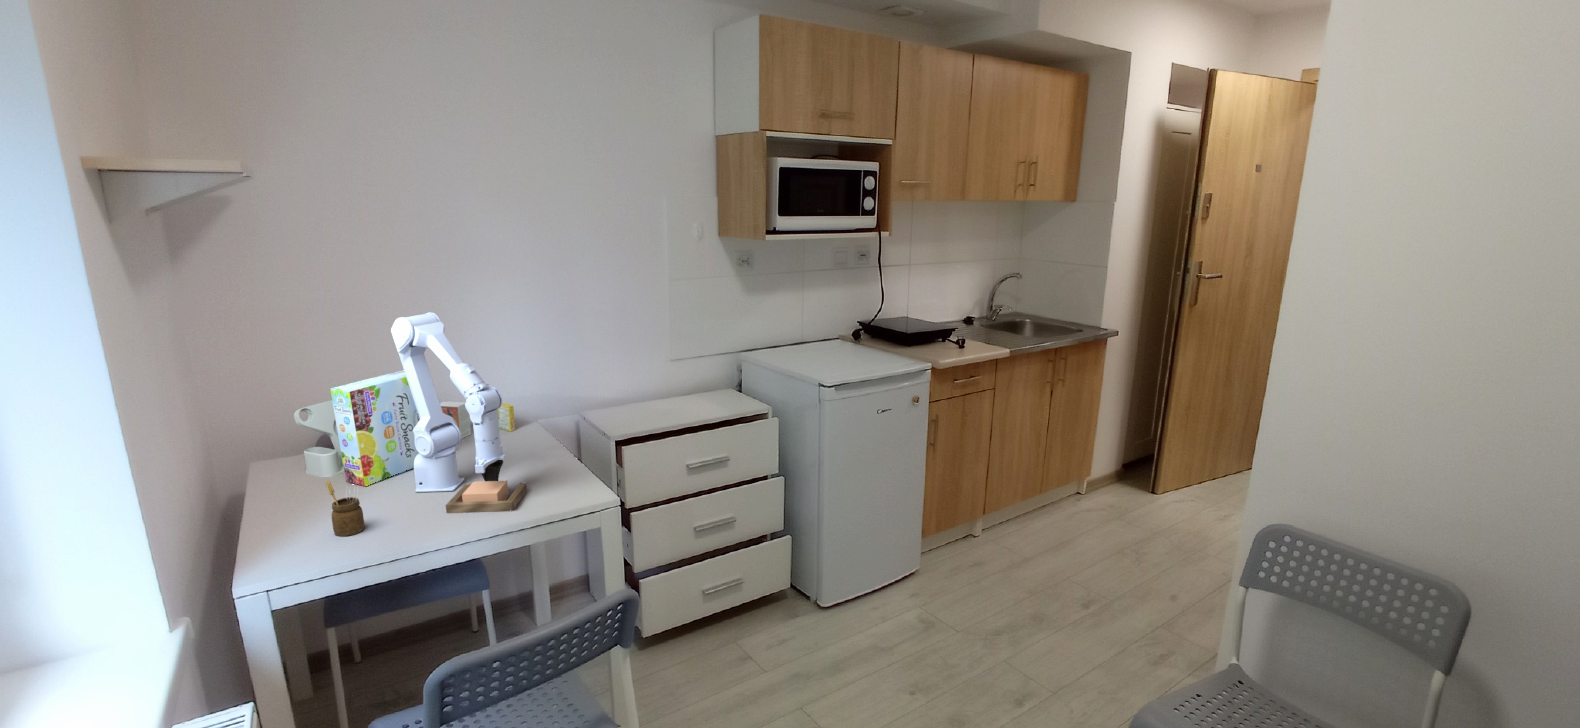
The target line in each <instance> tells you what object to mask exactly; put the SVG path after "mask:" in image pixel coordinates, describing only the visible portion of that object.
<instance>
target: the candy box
mask: <svg viewBox="0 0 1580 728" xmlns="http://www.w3.org/2000/svg"><path fill="white" fill-rule="evenodd" d="M497 412H498V422H499V430H503V431H507V432H510V433H511V432H513V431H515V413H514V412H515V411H514V405H511V404H507V403H503V402H502V404H501V406H500V408H498V409H497Z"/></svg>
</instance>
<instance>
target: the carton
mask: <svg viewBox="0 0 1580 728" xmlns="http://www.w3.org/2000/svg"><path fill="white" fill-rule="evenodd" d="M470 484H471V485H470ZM470 484H469V485H470V486H469V487H468V488H467V490H466V491H465V492H464V493H463V494H462V499H463V502H481V501H507V499H508V497H509V487H508V480H498V481H485V480H483V481H482V480H481V481H479V480H478V481H473V482H472V483H470Z"/></svg>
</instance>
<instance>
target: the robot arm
mask: <svg viewBox="0 0 1580 728" xmlns="http://www.w3.org/2000/svg"><path fill="white" fill-rule="evenodd" d="M445 330H446V329H445V324H444V323H443V322H442V321H441V319H440V317H439V316H438V315H437V314H436V313H434V312H427V313H422V314H416V315H410V316H406V317H405V316H404V317H398V318H396V319H395V320H394V321H393V323H392V327H391V329H390V332H391V335H392V339H393V341H394V344H395V348H396V351H397V353H398V355H399V359H400V363H401V366H402V368H403V369H402V370H404V372H405V375H406V378H407V381H408V384H409V387H410V390H411V393H412V396H413V399H414V402H415V405H416V408H417V411H418V414H419V418H420V420H419V422H418V423H417V425H416V426H415V427H414V429H413V432H414V436H415V447H416V450H417V451H418V452H419V453H420V454H417V456H416V457H415V460H414V468H413V471H414V472H413V473H414V481H415V490H414V491H415V493H427V492H429V493H430V492H435V493H436V492H454V491H455V490H456V489H457V488H458V487H459V486H460V485H461V484H462V483H463V482H464V481H465V477H459V472H458V464H457V463H458V461H457V453H456V451H457V450H458V445H460V443H461V441H462V439H461V432H460V430H459V428H458V427H457V426H456V424H455V422H454V419H453V418H452V417H451V416H449V415H446V414H444V413H443V411H442V408H441V405H440V403H441V402H440V400H439V397H438V394H437V390H436V387H435V384H434V380H433V379H432V375H431V372H430V369H429V365H428V361H427V359H426V357H425V352H426V350H427V348H428V349H430V350H431V351H432V352H433V353H434V355H435V356H436V357H437V358H438V359H439V360H440V361H441V362H442V363H443V365H444V366H446V368H447V369H448V370H449V372H450V374H449V379H450V381H451V382H452V383H453V384H454V386H455V388H456V389H457V390H458V391H459V392H460V394H461V395H462V396H463V398H464V399H465V402H466V403H465V407H466V409H467V411H468V413H469V418H470V421H471V422H472V425H473V426H472V427H473V437H474V447H475V465H474V468H475V470H474V471H475V474H480V475H481V476H482V478H483V481H499V478H500V472H501V469H502V466H503V465H504V460H503V459H505V458H506V457H507V455H508V454H507V453H506V452H503V450H504V449H503V444H501V434H500V429H499V422H498V412H497V409H498V408H500V406H501V404H502V403H503V399H502V395H501V393H500V392H499V390H498V388H497V387H494V386H491V385H490V384H489V383H486V382H485V381H484V380H483V378H482V377H481V376H480V374H478V372H477V370H476V368H475V367H474V366H472V364H470V363H464V362H463V361H462V358H461V357H460V356H459V354H458V353H457V351H456V350H455V349H454V347H453V345H452V343H451V342H450V341H449V339H448V337H447V336H446V334H445ZM438 425H439V427H437V428H436V426H438ZM430 429H431V430H430Z"/></svg>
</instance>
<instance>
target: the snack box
mask: <svg viewBox="0 0 1580 728" xmlns="http://www.w3.org/2000/svg"><path fill="white" fill-rule="evenodd" d="M329 390H330V395H331V400H332V402H333V408H334V414H335V420H336V425H337V431H338V437H339V443H340V449H341V455H342V461H343V466H344V473H343V474H344V477H345V482H346V483H348V482H349V483H350V484H353V483H355V485H357V484H358V485H359V486H361V485H362V487H365V486H367V487H369V486H371V485H373V484H372V483H374V484H376V483H378V482H377V481H379V480H381V481H384V480H386V479H388V478H387V477H389V478H391V476H392V477H394V476H396V475H395V474H397V475H399V474H401V473H405V472H407V471H409V470H411V469H414V460H415V457H416V456H417V454H420V453H419V452H418V451H417V450H416V447H415V436H414V432H413V429H414V427H415V426H416V425H417V423H418V422H419V420H420V418H419V414H418V411H417V408H416V405H415V402H414V399H413V396H412V393H411V390H410V387H409V384H408V381H407V378H406V375H405V372H404V369H402V370H400V371H394V372H390V373H386V374H383V375H379V376H375V377H369V378H367V379H363V380H362V379H361V380H358V381H356V382H355V381H354V382H351V383H347V384H343V385H340V386H339V385H338V386H335V387H331V388H330V389H329ZM431 429H432V428H431ZM431 429H430V430H431ZM406 470H407V471H406ZM398 473H399V474H398ZM393 475H394V476H393ZM385 478H386V479H385ZM383 479H384V480H383ZM375 482H376V483H375ZM379 482H380V481H379ZM370 484H371V485H370ZM368 485H369V486H368Z"/></svg>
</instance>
